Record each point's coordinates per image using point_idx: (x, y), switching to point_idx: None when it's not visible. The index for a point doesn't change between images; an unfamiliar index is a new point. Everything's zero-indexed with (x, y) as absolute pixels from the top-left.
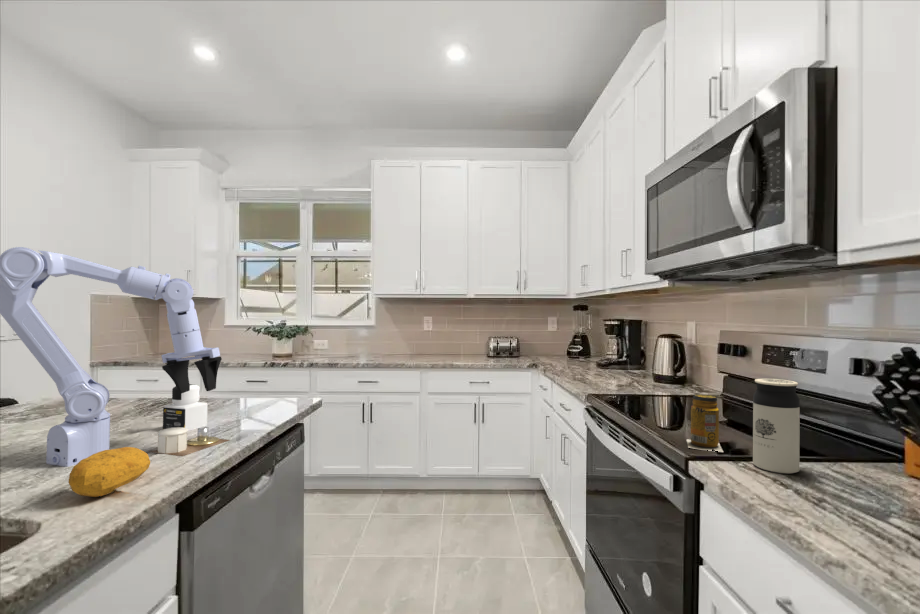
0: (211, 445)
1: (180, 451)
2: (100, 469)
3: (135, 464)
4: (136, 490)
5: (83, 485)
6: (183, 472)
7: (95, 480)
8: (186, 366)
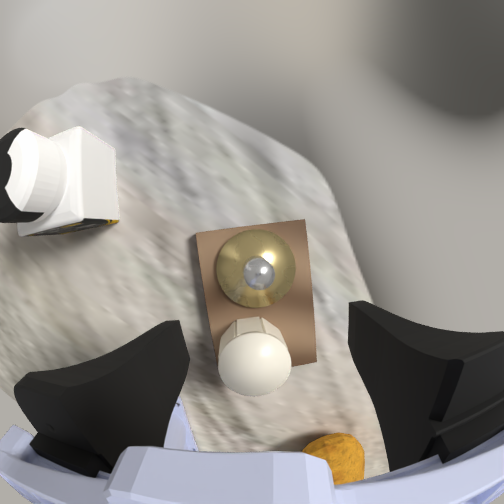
0: (304, 279)
1: None
2: None
3: (363, 459)
4: (357, 438)
5: None
6: (362, 380)
7: None
8: (109, 393)
